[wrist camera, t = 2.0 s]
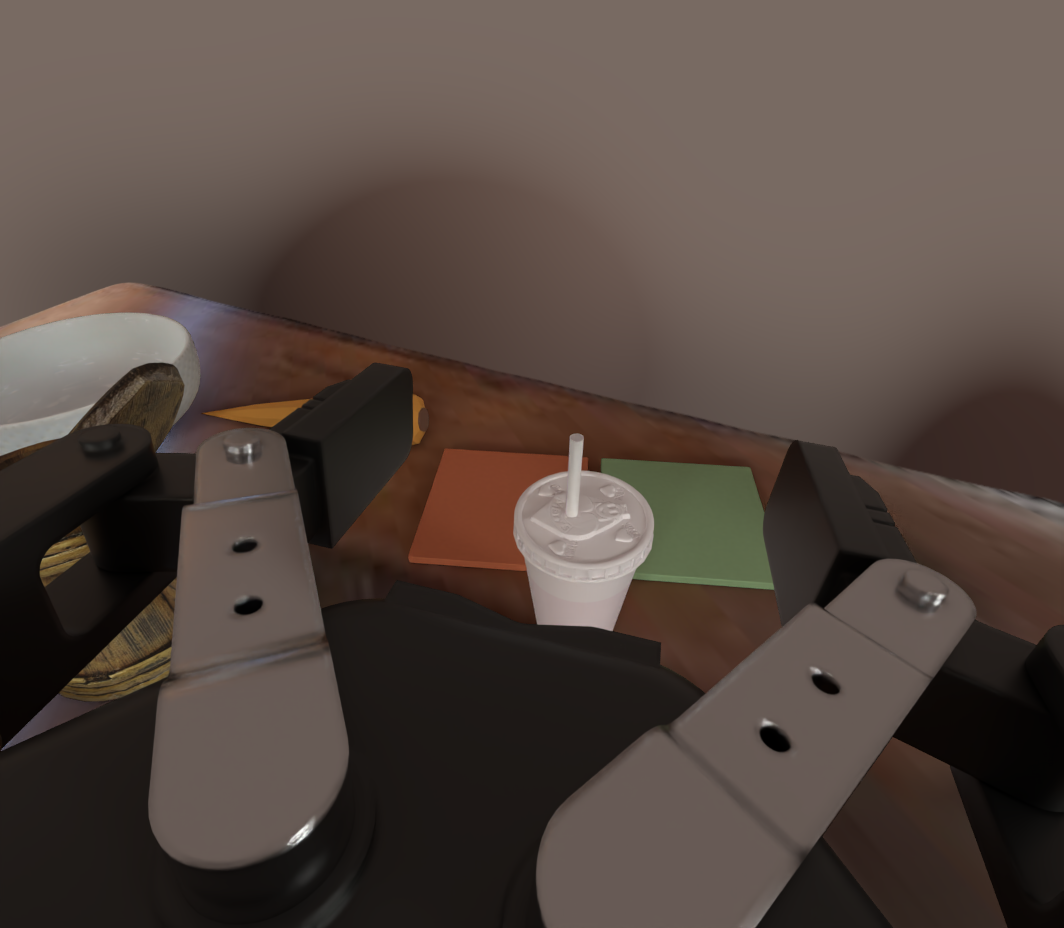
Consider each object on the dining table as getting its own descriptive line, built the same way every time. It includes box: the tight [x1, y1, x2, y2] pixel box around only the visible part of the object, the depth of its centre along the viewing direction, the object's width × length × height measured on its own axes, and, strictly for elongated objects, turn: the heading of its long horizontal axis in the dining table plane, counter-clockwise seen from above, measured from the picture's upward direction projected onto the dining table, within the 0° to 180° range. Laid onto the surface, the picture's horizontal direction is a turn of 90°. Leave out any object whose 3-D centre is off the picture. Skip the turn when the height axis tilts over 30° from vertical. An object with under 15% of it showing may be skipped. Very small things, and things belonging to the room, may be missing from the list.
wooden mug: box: [0, 362, 185, 701], centre depth 26 cm, size 9×14×18 cm, turn 75°
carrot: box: [201, 395, 429, 445], centre depth 46 cm, size 20×4×4 cm, turn 79°
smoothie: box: [513, 434, 654, 631], centre depth 28 cm, size 6×6×14 cm
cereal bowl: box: [0, 313, 201, 456], centre depth 44 cm, size 17×17×7 cm
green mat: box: [601, 458, 774, 590], centre depth 39 cm, size 11×11×1 cm
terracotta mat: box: [408, 449, 588, 571], centre depth 40 cm, size 11×11×1 cm
